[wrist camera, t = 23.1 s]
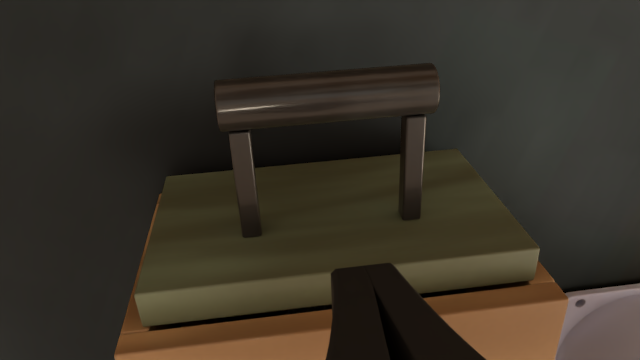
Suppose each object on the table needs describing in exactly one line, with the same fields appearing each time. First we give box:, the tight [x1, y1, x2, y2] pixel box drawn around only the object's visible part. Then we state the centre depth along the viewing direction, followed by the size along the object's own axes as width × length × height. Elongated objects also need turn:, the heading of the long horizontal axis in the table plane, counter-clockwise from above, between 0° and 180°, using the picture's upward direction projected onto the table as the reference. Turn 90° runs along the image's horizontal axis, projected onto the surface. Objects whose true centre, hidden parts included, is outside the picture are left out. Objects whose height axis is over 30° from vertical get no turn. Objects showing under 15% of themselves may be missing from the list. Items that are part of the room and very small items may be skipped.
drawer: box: [134, 63, 540, 327], centre depth 19 cm, size 17×11×7 cm, turn 3°
